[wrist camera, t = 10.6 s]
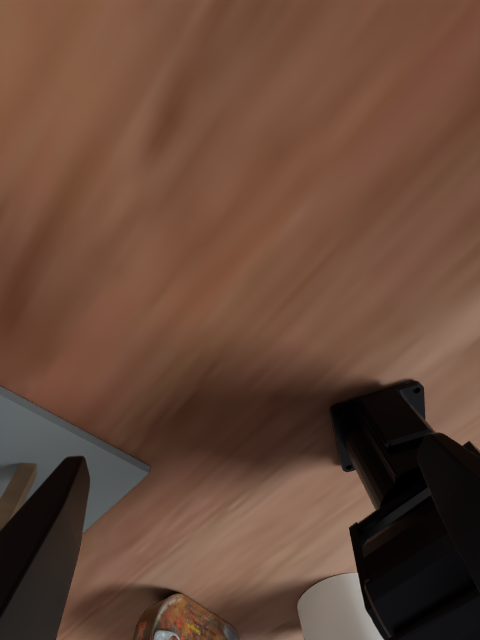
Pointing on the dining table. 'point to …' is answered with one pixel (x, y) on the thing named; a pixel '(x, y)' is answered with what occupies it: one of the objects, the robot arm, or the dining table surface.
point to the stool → (17, 491)
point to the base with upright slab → (336, 611)
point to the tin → (182, 622)
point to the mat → (62, 454)
